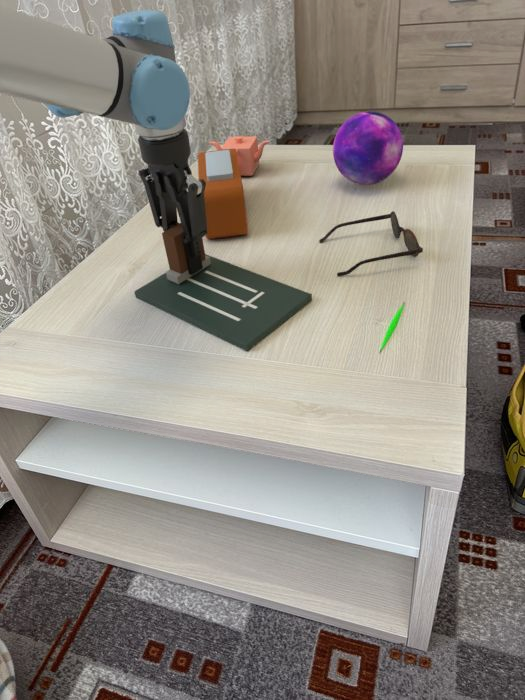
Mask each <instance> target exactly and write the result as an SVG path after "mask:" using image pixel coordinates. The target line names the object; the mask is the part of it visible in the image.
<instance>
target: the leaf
mask: <svg viewBox="0 0 525 700" xmlns="http://www.w3.org/2000/svg"><path fill="white" fill-rule="evenodd" d="M404 305H405V302H403V303H402V305H401V306H400V307H399V309H398V310H397V312H396V314H395V315H394V317H393V318H392V321H391V322H390V324H389V326H388V329H387V331H386V333H385V336H384V338H383V341H382V345H381V347H380V350H379V352H378V354H380V353H381V352H382V350H383V349H384V347H385V345H386V343H387V342H388V341H389V339H390V337H391V336H392V334H393V332H394V330H395V329H396V326H397V324H398V322H399V319H400V317H401V314H402V311H403V308H404Z"/></svg>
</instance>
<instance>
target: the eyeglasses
mask: <svg viewBox="0 0 525 700" xmlns="http://www.w3.org/2000/svg"><path fill="white" fill-rule="evenodd" d="M388 219H390V225H391V229H392V233H393V235H394V237H395V239H397V240H399V239H400V237H401V234H402V235H403V243H404V245H405V247H406V251H401V252H395V253H390V254H387V255H381V256H377V257H372V258H368V259H364V260H361V261H359V262H357V263H356V264H354V265H353V266H351V267H350V268H349V269H347V270H346V271H345V270H344V271H339V272H337V273H336V276H337V277H341V276H342V277H343V276H347V275H349V274H351V273H353V272H354V271H355V270H356V269H358V268H359V267H360V266H362V265H365V264H368V263H373V262H378V261H383V260H390V259H395V258H401V257H402V258H403V257H408V256H412V257H414V258H417V257H418V256H419V254H421V253H423V252H424V249H423V247H421V246H420V244H419V240H418V239H417V236H416V235H415V233H414V231H412V230H411V229H409V228H407V229H405V228H404V227H402V226H400V223H399V220H398V216H397V214H396V212H395V211H391V212H390V213H387V214H382V215H376V216H371V217H365V218H361V219H356V220H351V221H346V222H343V223H339V224H337V225H335V226H334V227H332V228H331V229H330V230H329V231H328V232H327V233H326V234H325V235H324V237H323V236H322V238H320V239H319V240H318V242H319V243H320V244H321V243H323V242H324V241H326V240H327V239H328V238H329V237H330V236H331V235H332V234H333V233H334V232H335V231H336V230H337V229H340V228H342V227H346V226H347V227H348V226H352V225H357V224H364V223H369V222H376V221H382V220H388Z"/></svg>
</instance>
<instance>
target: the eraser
mask: <svg viewBox="0 0 525 700" xmlns="http://www.w3.org/2000/svg"><path fill="white" fill-rule="evenodd" d="M178 223H179V224H178V225H176V226H174V227H172V228H170V229H168V230H167V231H165V232H164V231H163V232H161V235H162V241H163V245H164V250H165V254H166V258H167V263H168V268H169V269H168V270H167V271H166V272H165V273H166V276H167V279H168V280H170V281H172V282H175V283H177V284H180V283H181V282H183V281H185V280H186V279H188V278H189V277H191V276H193V275H194V274H193V275H190V274H189V271H188V266H187V261H186V256H185V251H184V246H183V241H182V239H184V238H185V235H184V231H183V228H182V225H181V222H178ZM199 240H200V245H201V251H202V253H201V260H202V265H203V269H204V268H205V267H207V266H209V265H210V264H211V261H210V257H209V256H210V255H209V256H206V255H207V254H206V251H205V246H204V241H203V237H202V238H200V239H199ZM205 254H206V255H205ZM201 270H202V269H201ZM201 270H199V271H201ZM199 271H198V272H199ZM196 273H197V272H196ZM196 273H195V274H196Z"/></svg>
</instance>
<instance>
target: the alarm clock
mask: <svg viewBox="0 0 525 700" xmlns="http://www.w3.org/2000/svg"><path fill="white" fill-rule="evenodd" d="M197 171H198V172H197V173H198V174H197V175H198V176H197V177H198V180H200V179H203V180H204V181H205V183H206V186H205V191H204V198H205V209H206V219H207V230H208V234H207V235H205V238H206V239H207V240H211V239H219V238H220V239H221V238H228V237H233V236H234V237H236V236H244V235H248V234H249V233H248V232H249V228H248V218H247V210H246V209H247V208H246V201H245V193H244V191H245V190H244V185H243V179H242V175H241V174H240V169H239V163H238V158H237V152H236V149H226V150H217V149H216V150H211V151H210V150H209V151H201V152H198V153H197Z"/></svg>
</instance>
